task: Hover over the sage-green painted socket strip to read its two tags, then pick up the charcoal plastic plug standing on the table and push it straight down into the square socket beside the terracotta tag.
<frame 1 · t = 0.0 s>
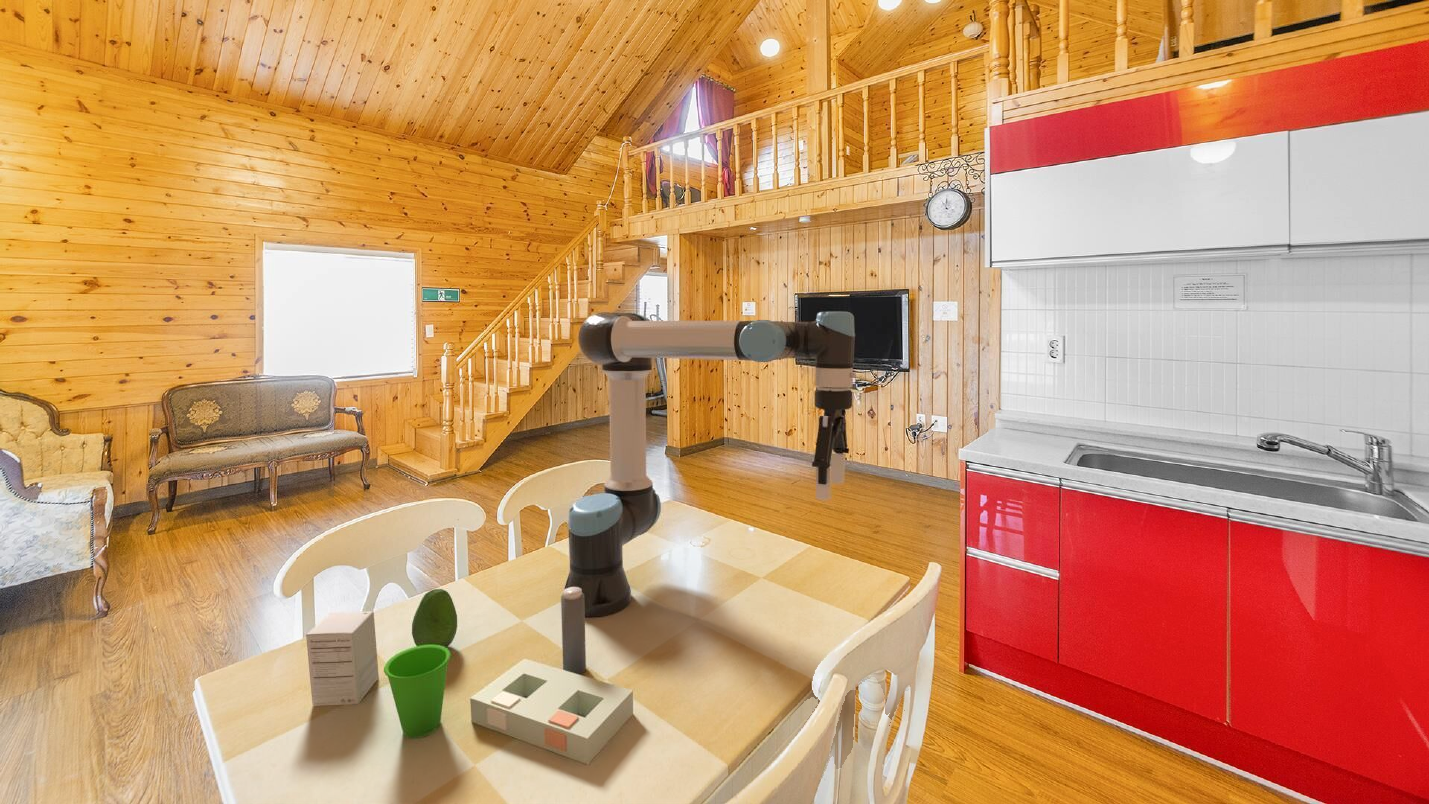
hand: (830, 491, 120), 28 cm above the table, fingers open, 13 cm apart
supplement box: (346, 693, 98), on the table
socket strip: (553, 717, 92), on the table
cup: (422, 728, 90), on the table
fruit: (436, 650, 111), on the table
plug: (574, 670, 105), on the table
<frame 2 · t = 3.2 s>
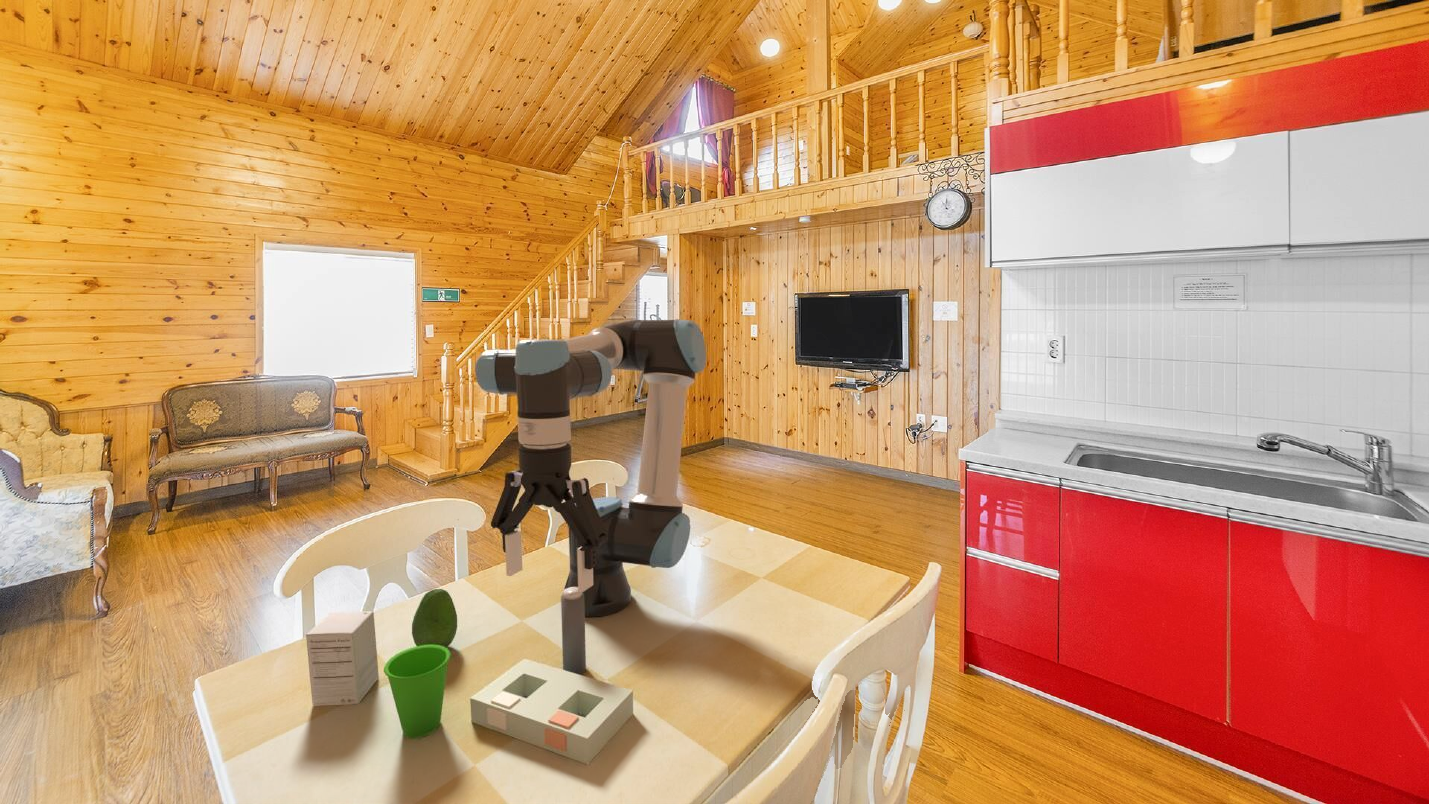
hand: (549, 580, 89), 23 cm above the table, fingers open, 13 cm apart
nothing on the table moved.
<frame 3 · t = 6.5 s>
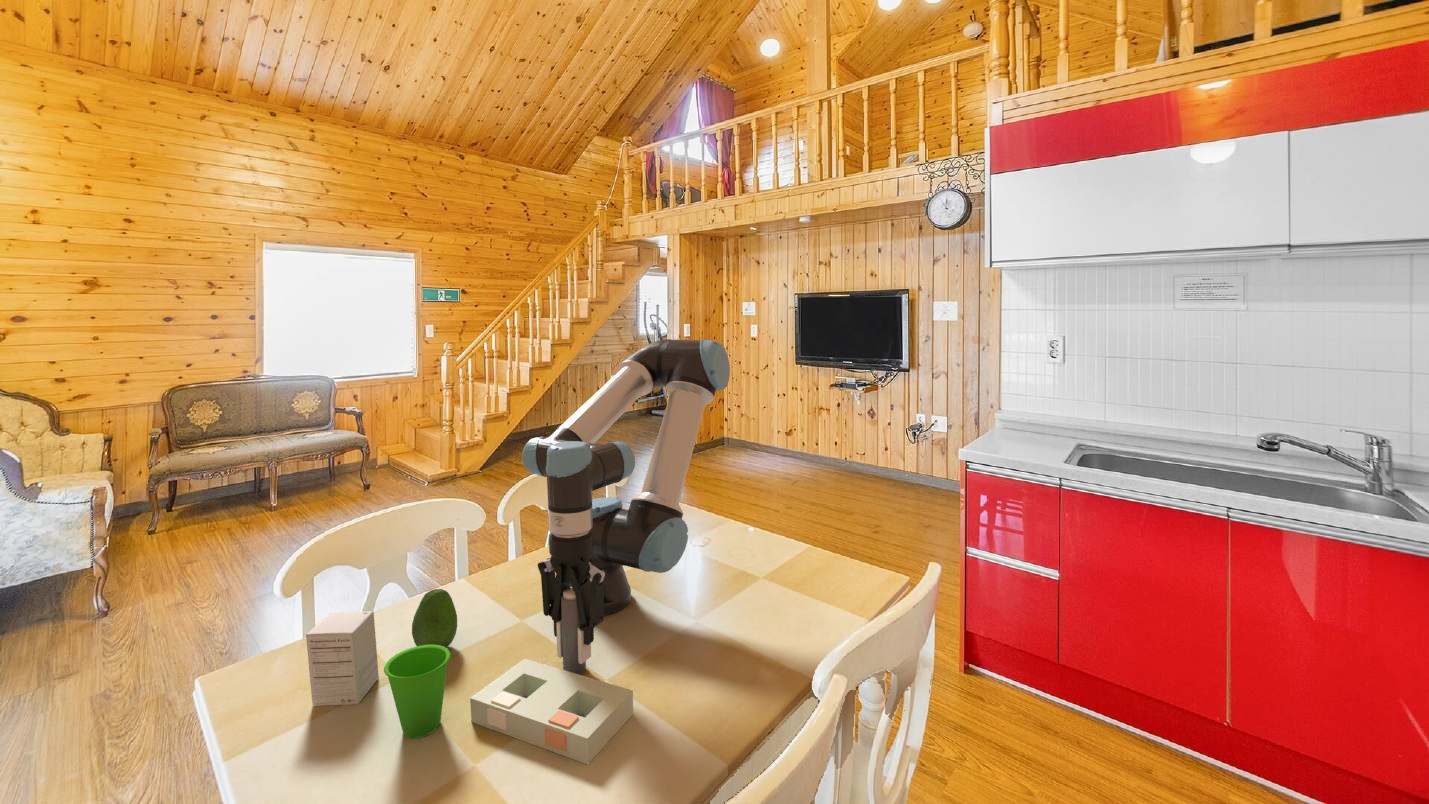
hand: (574, 656, 104), 3 cm above the table, fingers closed on plug, 4 cm apart
plug: (574, 670, 105), on the table, touching gripper
everything else where it was.
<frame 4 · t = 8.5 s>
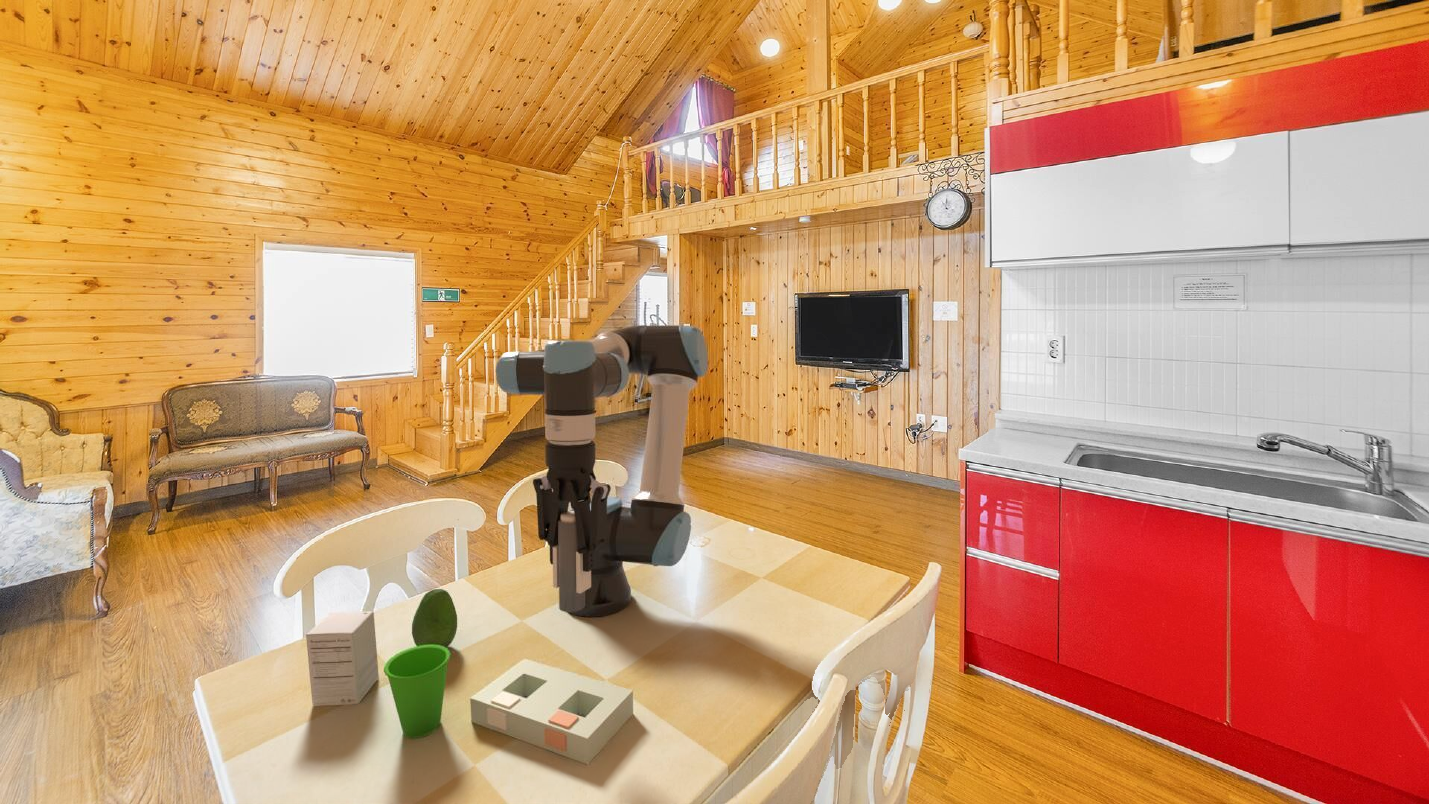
hand: (572, 586, 92), 21 cm above the table, fingers closed on plug, 4 cm apart
plug: (572, 606, 92), point 17 cm above the table, touching gripper
everything else where it was.
when the fingers open (5 cm above the table, at t = 10.8 s): plug stays where it is, resting in socket strip.
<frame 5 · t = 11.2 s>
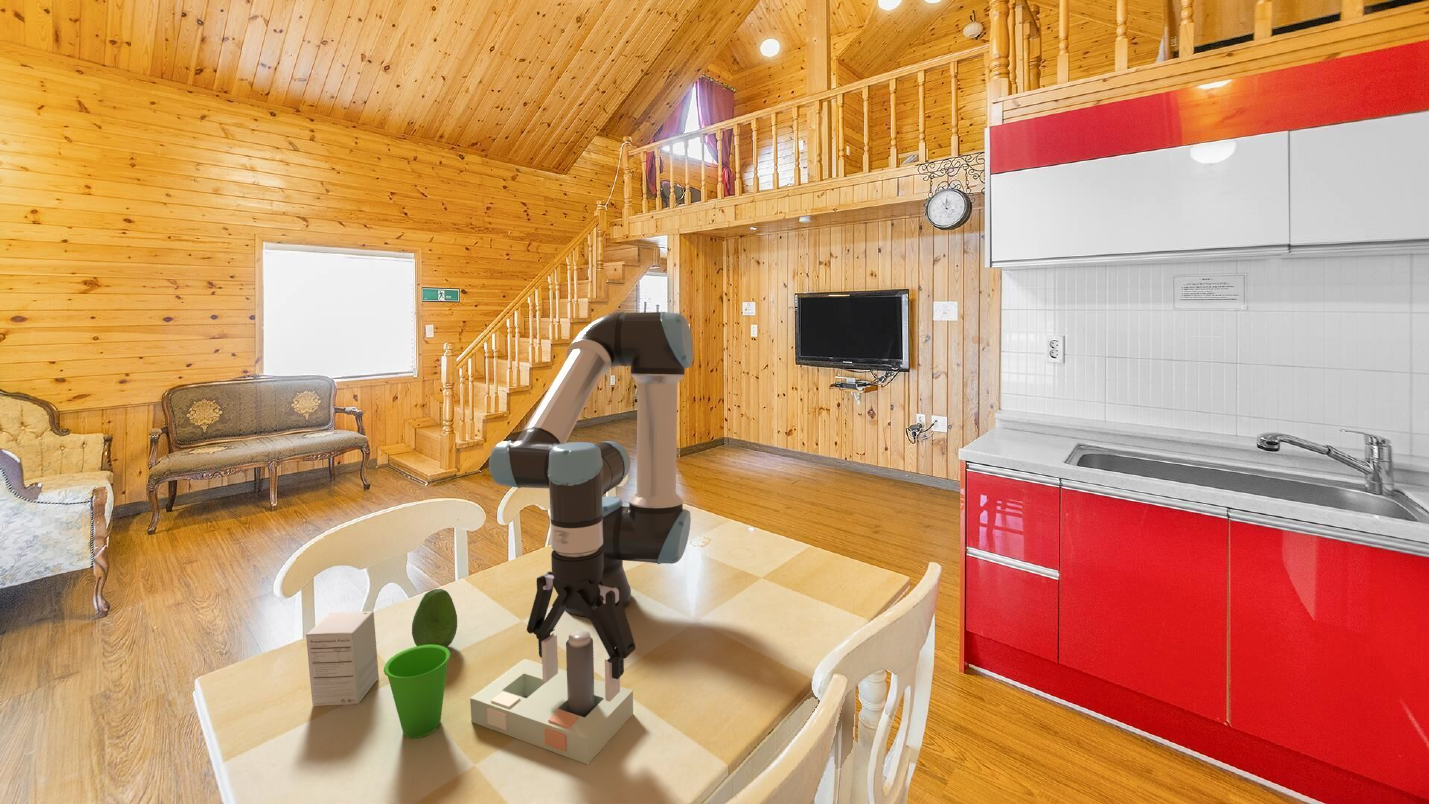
hand: (580, 686, 89), 7 cm above the table, fingers open, 11 cm apart
plug: (581, 727, 90), resting in socket strip
everything else where it was.
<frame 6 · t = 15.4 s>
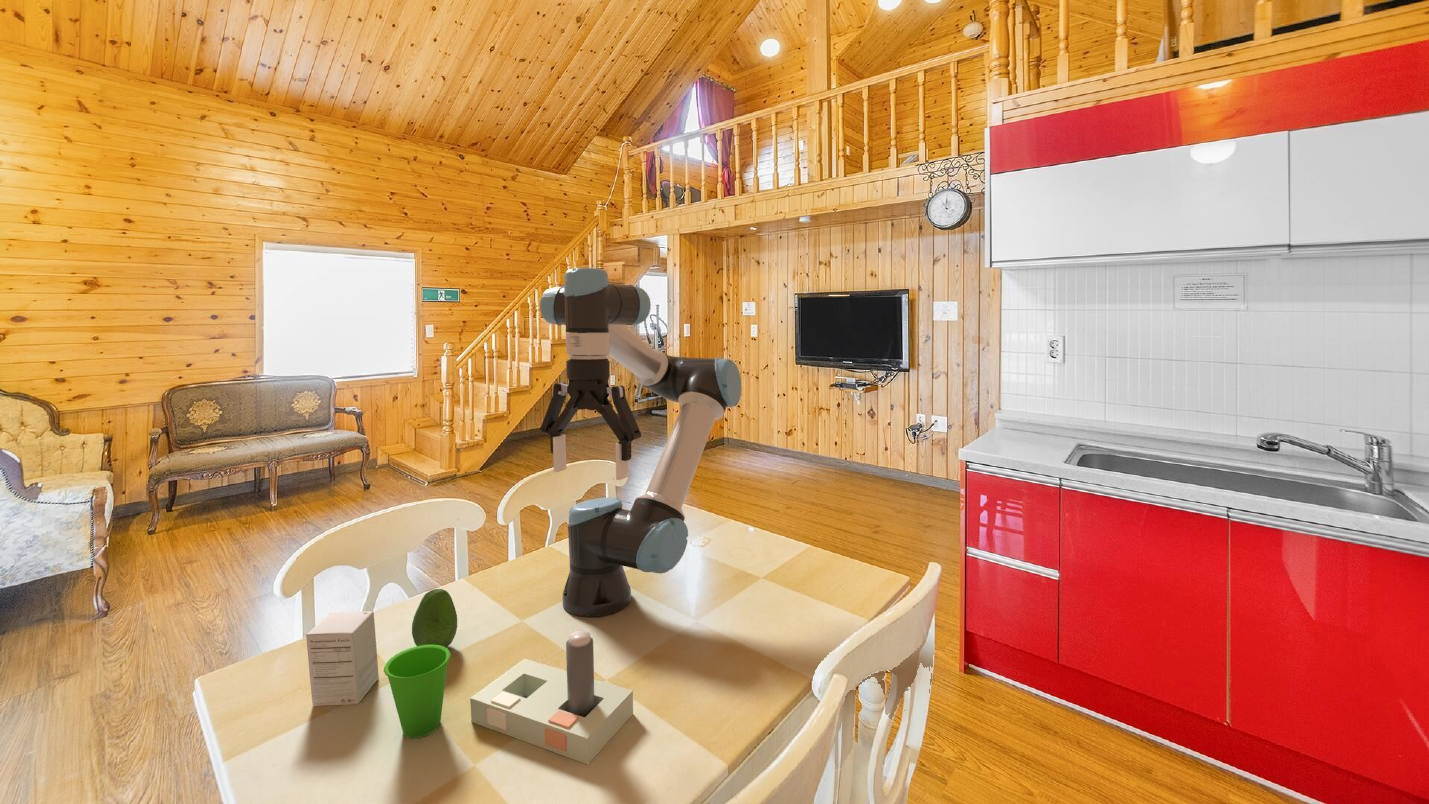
hand: (590, 474, 106), 35 cm above the table, fingers open, 13 cm apart
nothing on the table moved.
at the end: plug 0.0 cm from the target spot on the socket strip, point 0.0 cm above the socket strip's base; plug tilted 0°; the gripper is holding nothing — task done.
